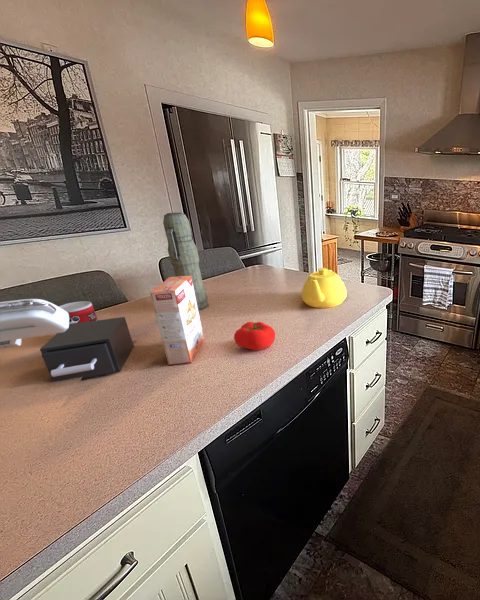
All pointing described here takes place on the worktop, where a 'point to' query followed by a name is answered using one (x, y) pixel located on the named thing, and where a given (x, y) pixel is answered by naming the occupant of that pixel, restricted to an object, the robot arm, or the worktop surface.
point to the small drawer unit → (96, 338)
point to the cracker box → (178, 319)
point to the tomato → (254, 336)
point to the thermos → (184, 254)
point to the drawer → (79, 361)
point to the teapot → (323, 289)
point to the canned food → (80, 312)
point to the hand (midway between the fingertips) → (10, 343)
